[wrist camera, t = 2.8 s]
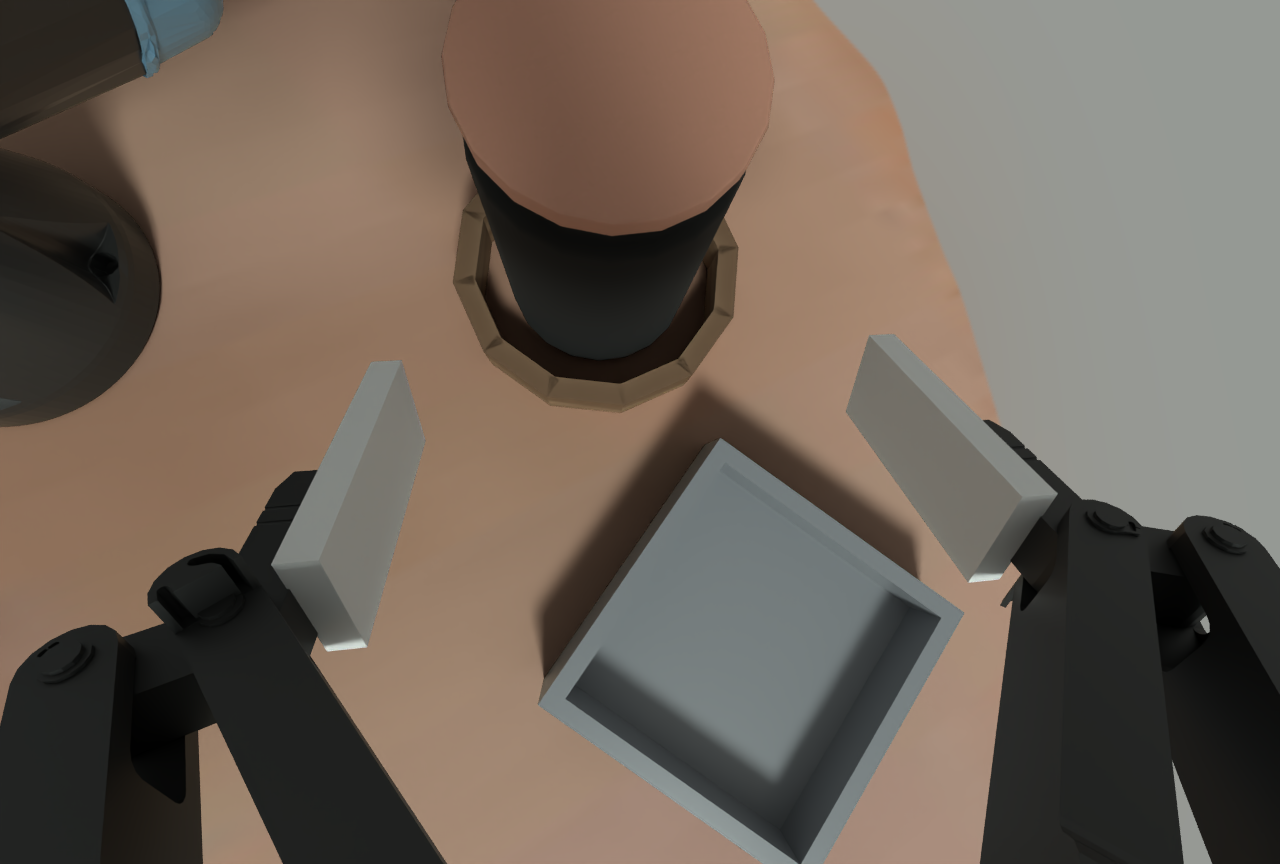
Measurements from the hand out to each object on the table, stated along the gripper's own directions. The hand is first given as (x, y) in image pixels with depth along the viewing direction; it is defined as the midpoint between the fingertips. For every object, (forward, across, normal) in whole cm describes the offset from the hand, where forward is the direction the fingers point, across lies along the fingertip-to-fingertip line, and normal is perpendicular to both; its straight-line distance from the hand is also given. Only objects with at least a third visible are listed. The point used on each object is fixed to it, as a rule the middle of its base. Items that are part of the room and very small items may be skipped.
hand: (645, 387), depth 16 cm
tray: (+4, +7, -22) cm, 23 cm away
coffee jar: (+21, 0, -6) cm, 21 cm away
